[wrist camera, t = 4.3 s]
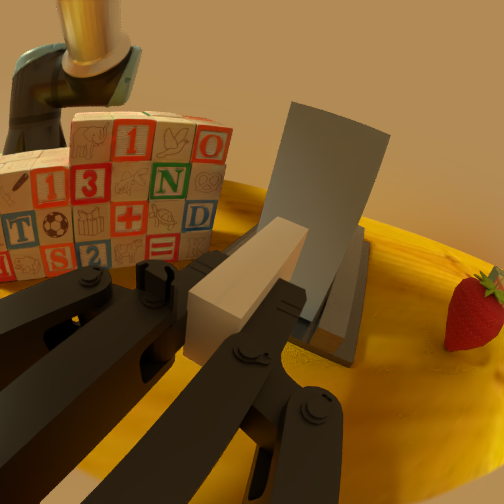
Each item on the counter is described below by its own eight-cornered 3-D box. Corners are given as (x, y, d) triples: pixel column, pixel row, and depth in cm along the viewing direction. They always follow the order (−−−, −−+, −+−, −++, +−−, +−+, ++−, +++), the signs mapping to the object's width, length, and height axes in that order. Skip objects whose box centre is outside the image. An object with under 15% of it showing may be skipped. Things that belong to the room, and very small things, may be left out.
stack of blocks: (-11, 287, 14) (-41, 139, 8) (1, 247, 18) (-12, 124, 12) (209, 258, 26) (235, 125, 19) (187, 226, 30) (205, 115, 23)
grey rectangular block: (241, 288, 21) (291, 101, 14) (265, 261, 25) (310, 109, 18) (311, 321, 20) (390, 135, 12) (325, 288, 24) (385, 136, 17)
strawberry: (455, 330, 24) (502, 258, 19) (472, 379, 17) (536, 301, 12) (420, 318, 24) (468, 238, 19) (434, 371, 18) (504, 282, 13)
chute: (183, 287, 21) (189, 237, 19) (280, 209, 40) (288, 180, 38) (348, 368, 17) (381, 324, 15) (368, 247, 36) (380, 218, 34)
